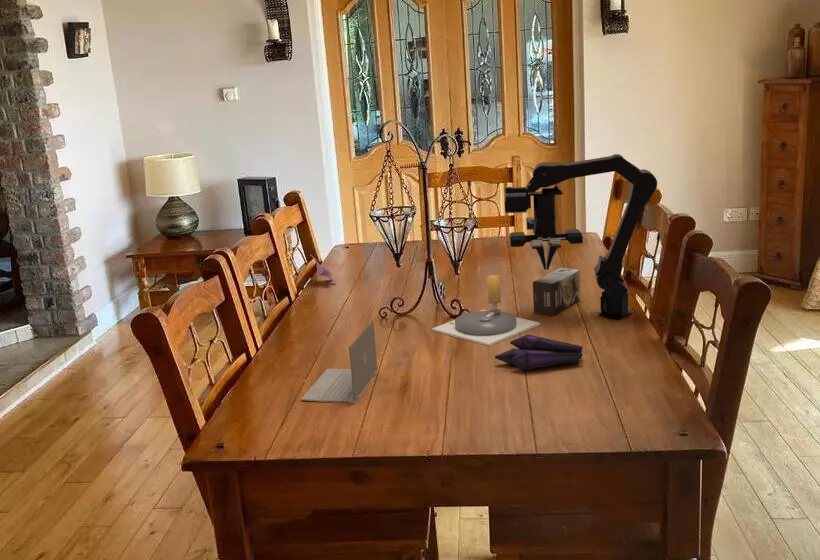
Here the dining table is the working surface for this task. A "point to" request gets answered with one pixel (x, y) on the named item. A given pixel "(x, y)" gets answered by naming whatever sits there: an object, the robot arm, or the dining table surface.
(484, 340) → the panel
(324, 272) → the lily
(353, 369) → the laptop
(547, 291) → the coffee box
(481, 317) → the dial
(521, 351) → the crystal
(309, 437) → the dining table surface
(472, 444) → the dining table surface
